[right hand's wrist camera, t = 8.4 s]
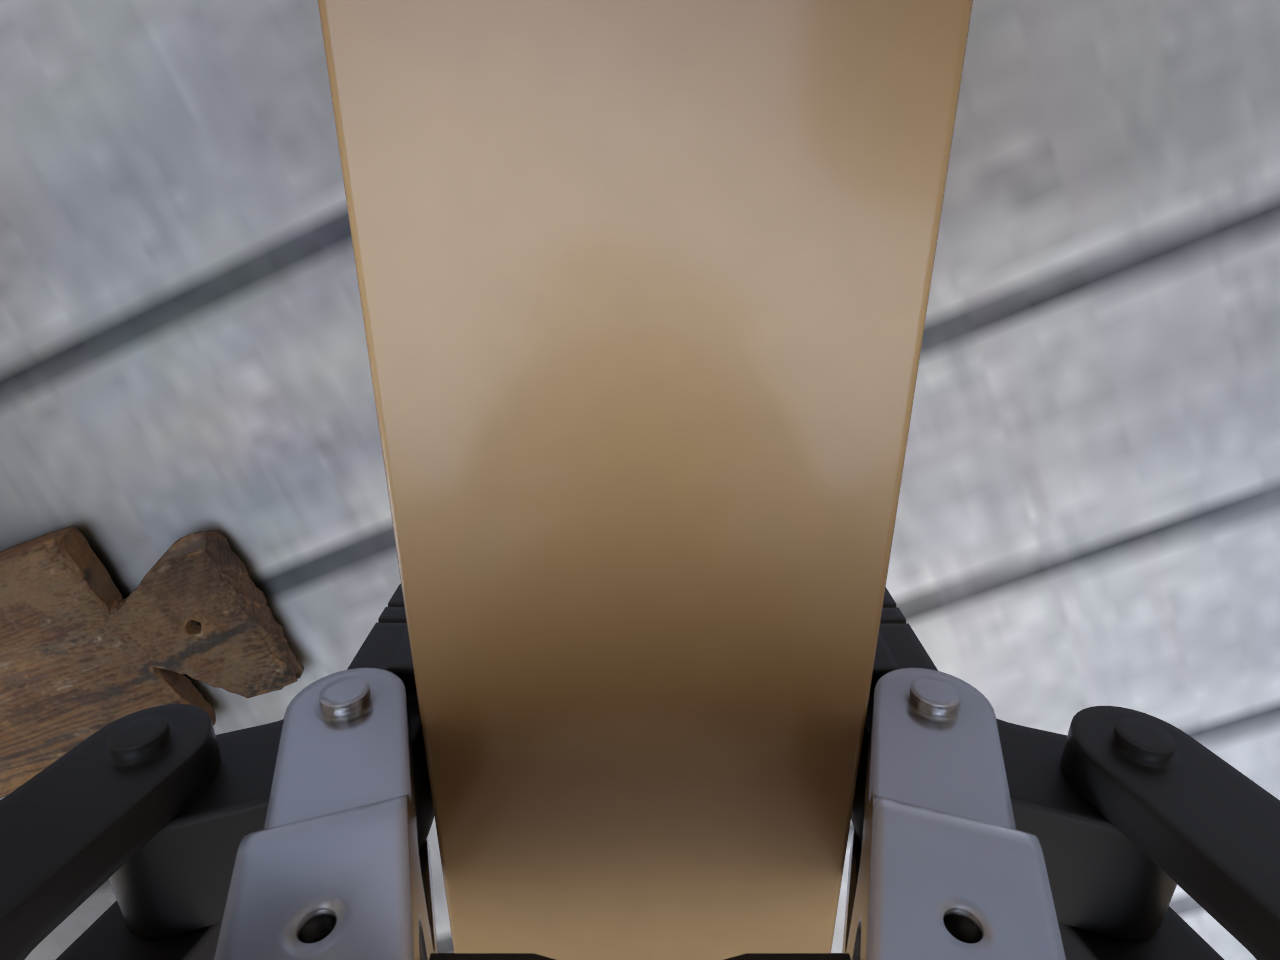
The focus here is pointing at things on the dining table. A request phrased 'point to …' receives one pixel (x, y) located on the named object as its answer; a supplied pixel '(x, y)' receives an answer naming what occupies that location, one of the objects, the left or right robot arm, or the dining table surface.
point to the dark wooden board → (122, 642)
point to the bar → (644, 435)
